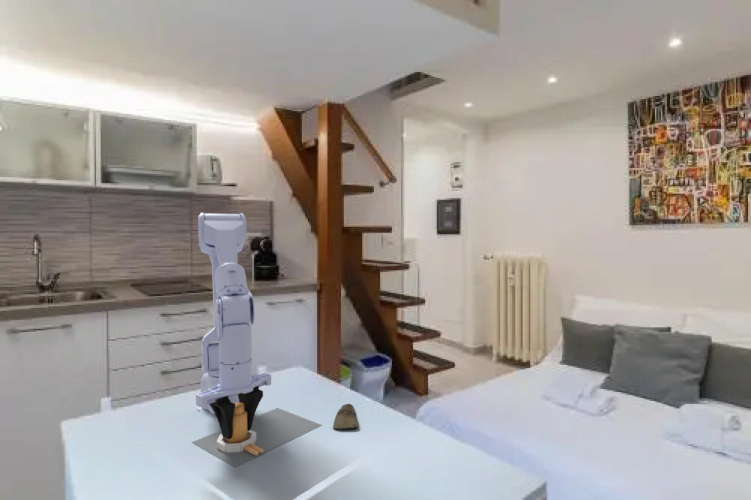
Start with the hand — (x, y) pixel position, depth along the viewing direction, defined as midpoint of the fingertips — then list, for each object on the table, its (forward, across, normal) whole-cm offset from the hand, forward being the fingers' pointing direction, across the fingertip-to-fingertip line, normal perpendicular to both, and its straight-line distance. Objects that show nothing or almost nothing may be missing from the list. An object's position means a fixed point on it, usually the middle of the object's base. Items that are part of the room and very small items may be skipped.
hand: (236, 433), depth 80 cm
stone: (+3, +21, -9) cm, 23 cm away
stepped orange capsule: (+1, 0, 0) cm, 1 cm away
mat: (+3, +5, 0) cm, 6 cm away
